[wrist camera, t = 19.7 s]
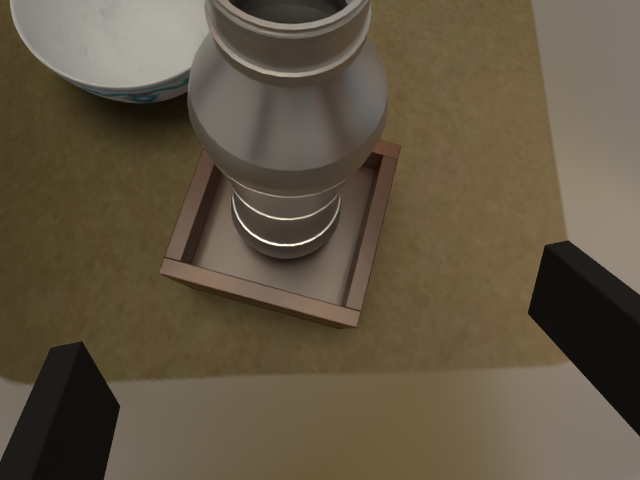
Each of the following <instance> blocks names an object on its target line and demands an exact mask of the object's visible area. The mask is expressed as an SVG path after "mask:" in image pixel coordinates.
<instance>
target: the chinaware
mask: <svg viewBox="0 0 640 480" xmlns="http://www.w3.org/2000/svg"><path fill="white" fill-rule="evenodd" d="M204 4H205V0H10V7H11V13H12V18H13V21H14V24H15V27H16V29H17V31H18V33H19V35H20V37H21V39H22V40H23V42H24V43H25V45H26V46H27V47H28V49H29V50H30V51H31V52H32V53H33V55H34V56H35V57H36V58H37V59H39V60H40V61H41V62H42V63H43V64H44V65H45V66H47V67H48V68H49V69H51V70H52V71H53V72H55V73H56V74H58V75H59V76H61V77H62V78H64V79H65V80H67V81H69V82H70V83H72V84H74V85H76V86H78V87H80V88H82V89H84V90H86V91H88V92H90V93H93V94H95V95H98V96H101V97H104V98H107V99H111V100H115V101H120V102H127V103H154V102H160V101H164V100H168V99H171V98H174V97H177V96H179V95H181V94H183V93H185V92H187V91H188V84H189V76H190V69H191V66H192V63H193V60H194V56H195V53H196V52H197V50H198V48H199V46H200V45H201V43H202V41H203V39H204V38H205V37H206V35H207V34H208V33H209V29H208V25H207V21H206V16H205V10H204Z"/></svg>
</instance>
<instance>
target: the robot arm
mask: <svg viewBox="0 0 640 480" xmlns="http://www.w3.org/2000/svg"><path fill="white" fill-rule="evenodd" d="M528 314H529V315H530V316H531V317H532V319H533V320H534V321H535V322H536V323H537V324H538V325H539V326H540V327H541V328H542V330H543V331H544V332H545V333H546V334H547V335H548V336H549V337H550V338H551V339H552V341H553V342H554V343H555V344H556V345H557V346H558V347H559V348H560V349H561V350H562V352H563V353H564V354H565V355H566V356H567V357H568V358H569V359H570V360H571V361H572V363H573V364H574V365H575V366H576V367H577V368H578V369H579V370H580V371H581V372H582V373H583V375H584V376H585V377H586V378H587V379H588V380H589V381H590V382H591V383H592V384H593V386H595V388H596V389H597V390H598V391H599V392H600V393H601V394H602V395H603V397H604V398H605V399H606V400H607V401H608V402H609V403H610V404H611V405H612V406H613V407H614V409H615V410H616V411H617V412H618V413H619V414H620V415H621V416H622V417H623V419H625V421H626V422H627V423H628V424H629V425H630V426H631V427H632V428H633V430H634V431H635V432H636V433H637V434H638V435H639V436H640V295H639V294H638V293H637V292H635V291H634V290H632V289H631V288H630V287H629V286H627V285H626V284H625V283H623V282H622V281H621V280H620V279H618V278H617V277H616V276H614V275H613V274H612V273H610V272H609V271H608V270H606V269H605V268H604V267H602V266H601V265H600V264H598V263H597V262H596V261H594V260H593V259H592V258H591V257H589V256H588V255H587V254H585V253H584V252H583V251H581V250H580V249H579V248H578V247H576V246H575V245H574V244H572V243H571V242H570V241H563V242H559V243H554V244H549V245H545V247H544V251H543V255H542V259H541V263H540V267H539V271H538V275H537V279H536V283H535V287H534V291H533V295H532V299H531V303H530V307H529V311H528ZM119 409H120V405H119V404H118V402H117V400H116V398H115V397H114V395H113V393H112V392H111V390H110V388H109V386H108V385H107V383H106V381H105V380H104V378H103V376H102V374H101V373H100V371H99V369H98V368H97V366H96V364H95V363H94V361H93V359H92V357H91V356H90V354H89V352H88V351H87V349H86V347H85V346H84V344H83V342H82V341H81V342H77V343H72V344H67V345H62V346H57V347H52V348H51V349H50V351H49V353H48V355H47V358H46V360H45V362H44V364H43V367H42V369H41V371H40V373H39V376H38V378H37V380H36V382H35V385H34V387H33V389H32V391H31V394H30V396H29V398H28V400H27V403H26V405H25V407H24V409H23V411H22V414H21V416H20V418H19V420H18V423H17V425H16V427H15V429H14V432H13V434H12V437H11V439H10V441H9V443H8V445H7V448H6V450H5V452H4V454H3V456H2V459H1V461H0V480H104V476H105V471H106V467H107V462H108V458H109V453H110V449H111V445H112V440H113V436H114V431H115V427H116V422H117V418H118V413H119Z"/></svg>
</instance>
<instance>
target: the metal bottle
mask: <svg viewBox="0 0 640 480" xmlns="http://www.w3.org/2000/svg"><path fill="white" fill-rule="evenodd" d="M204 10H205V16H206V21H207V25H208V29H209V33H208V34H207V35H206V37H205V38H204V39H203V41H202V43H201V45H200V46H199V48H198V50H197V52H196V53H195V56H194V60H193V63H192V66H191V69H190V76H189V84H188V97H187V105H188V112H189V118H190V122H191V124H192V127H193V129H194V132H195V134H196V136H197V138H198V140H199V141H200V143H201V145H202V146H203V148H204V150H205V151H206V153H207V154H208V155H209V157H210V158H211V160H212V161H213V163H214V164H215V165H216V166H217V167H218V168H219V169H220V170H221V172H222V173H223V174H224V175H225V176H226V177H227V178H228V180H229V182H230V184H231V186H232V189H233V190H232V193H231V215H232V221H233V223H234V226H235V228H236V230H237V232H238V233H239V235H240V236H241V238H242V239H243V240H244V241H245V242H246V243H247V244H248V245H249V246H250V247H252V248H254V249H255V250H257V251H258V252H260V253H263V254H265V255H268V256H271V257H275V258H281V259H291V258H296V257H301V256H304V255H306V254H309V253H312V252H314V251H315V250H317V249H318V248H320V247H321V246H323V245H324V244H325V243H326V242H327V241H328V240H329V239H330V237H331V236H332V235H333V233H334V232H335V230H336V228H337V225H338V223H339V220H340V215H341V189H342V187H343V186H344V184H345V182H346V181H347V180H348V179H349V178H350V177H351V176H352V175H353V174H354V173H355V172H356V171H357V170H358V169H359V168H360V167H361V166H362V165H363V163H364V162H365V161H366V159H367V158H368V156H369V155H370V154H371V152H372V151H373V149H374V148H375V146H376V145H377V143H378V142H379V140H380V137H381V135H382V133H383V130H384V128H385V126H386V121H387V115H388V110H389V106H388V86H387V75H386V72H385V68H384V64H383V61H382V59H381V57H380V55H379V53H378V51H377V49H376V47H375V45H374V44H373V42H372V41H371V40H370V38H369V37H368V35H367V34H368V30H369V25H370V20H371V0H205V4H204Z"/></svg>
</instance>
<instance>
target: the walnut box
mask: <svg viewBox="0 0 640 480" xmlns="http://www.w3.org/2000/svg"><path fill="white" fill-rule="evenodd" d="M400 149H401V146H400V145H397V144H393V143H390V142H386V141H383V140H379V142H378V143H377V145H376V146H375V148H374V149H373V151H372V152H371V154H370V155H369V156H368V158H367V159H366V161H365V162H364V163H363V165H362V166H361V167H360V168H359V169H358V170H357V171H356V172H355V173H354V174H353V175H352V176H351V177H350V178H349V179H348V180H347V181H346V182H345V184H344V186H343V187H342V189H341V215H340V220H339V223H338V225H337V228H336V230H335V232H334V233H333V235H332V236H331V237H330V239H329V240H328V241H327V242H326V243H325V244H324V245H323V246H321V247H320V248H318V249H317V250H315V251H314V252H312V253H309V254H306V255H304V256H301V257H296V258H291V259H281V258H275V257H271V256H268V255H265V254H263V253H260V252H258V251H257V250H255V249H254V248H252V247H250V246H249V245H248V244H247V243H246V242H245V241H244V240H243V239H242V238H241V236H240V235H239V233H238V232H237V230H236V228H235V226H234V223H233V221H232V215H231V193H232V190H233V189H232V186H231V184H230V182H229V180H228V178H227V177H226V176H225V175H224V174H223V173H222V172H221V170H220V169H219V168H218V167H217V166H216V165H215V164H214V163H213V161H212V160H211V158H210V157H209V155H208V154H207V153H206V151H205V150H204V148H203V150H202V153H201V156H200V159H199V162H198V164H197V167H196V170H195V173H194V175H193V178H192V181H191V184H190V186H189V189H188V192H187V195H186V198H185V200H184V203H183V206H182V209H181V211H180V214H179V217H178V220H177V222H176V225H175V228H174V231H173V234H172V236H171V239H170V242H169V245H168V247H167V250H166V253H165V256H164V259H163V261H162V264H161V267H160V270H159V274H161V275H163V276H165V277H168V278H170V279H172V280H174V281H177V282H179V283H181V284H183V285H185V286H188V287H190V288H192V289H196V290H200V291H203V292H207V293H210V294H214V295H218V296H221V297H225V298H229V299H232V300H236V301H240V302H243V303H247V304H250V305H254V306H258V307H261V308H265V309H269V310H272V311H276V312H280V313H283V314H287V315H290V316H294V317H298V318H301V319H305V320H309V321H312V322H316V323H320V324H323V325H327V326H330V327H334V328H338V329H345V328H357V327H358V323H359V319H360V315H361V311H362V307H363V303H364V298H365V294H366V290H367V286H368V282H369V278H370V274H371V269H372V265H373V261H374V257H375V253H376V249H377V244H378V240H379V236H380V232H381V228H382V224H383V219H384V215H385V211H386V207H387V203H388V199H389V195H390V190H391V186H392V182H393V178H394V174H395V170H396V165H397V161H398V157H399V153H400Z"/></svg>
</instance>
